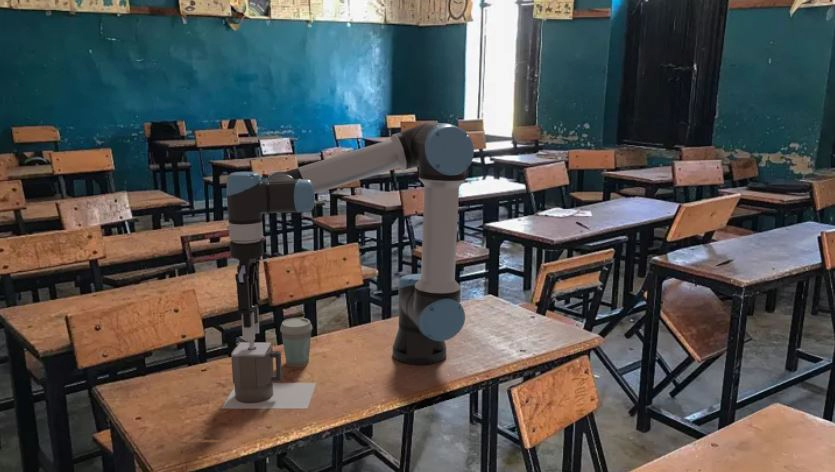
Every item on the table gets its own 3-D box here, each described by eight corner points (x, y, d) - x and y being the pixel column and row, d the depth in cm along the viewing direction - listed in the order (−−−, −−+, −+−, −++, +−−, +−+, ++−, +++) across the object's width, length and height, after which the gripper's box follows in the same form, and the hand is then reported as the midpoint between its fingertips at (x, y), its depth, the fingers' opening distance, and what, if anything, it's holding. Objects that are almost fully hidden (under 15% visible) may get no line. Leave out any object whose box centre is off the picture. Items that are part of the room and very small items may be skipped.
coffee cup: (307, 371, 180) (305, 328, 177) (276, 369, 181) (274, 326, 179) (318, 359, 188) (316, 318, 185) (288, 357, 190) (287, 316, 187)
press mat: (316, 384, 172) (316, 382, 172) (307, 410, 158) (307, 408, 158) (237, 384, 172) (237, 382, 172) (221, 410, 158) (221, 408, 158)
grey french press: (285, 387, 169) (283, 341, 167) (278, 403, 161) (276, 355, 158) (240, 387, 169) (237, 341, 167) (230, 403, 161) (227, 355, 158)
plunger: (262, 368, 165) (259, 303, 162) (258, 374, 162) (255, 308, 158) (247, 368, 165) (243, 303, 162) (243, 374, 162) (240, 308, 158)
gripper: (239, 232, 165) (244, 324, 170) (219, 247, 149) (225, 349, 154) (270, 232, 165) (274, 324, 170) (254, 248, 149) (259, 349, 154)
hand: (251, 335), depth 162 cm, fingers closed on plunger, 4 cm apart
